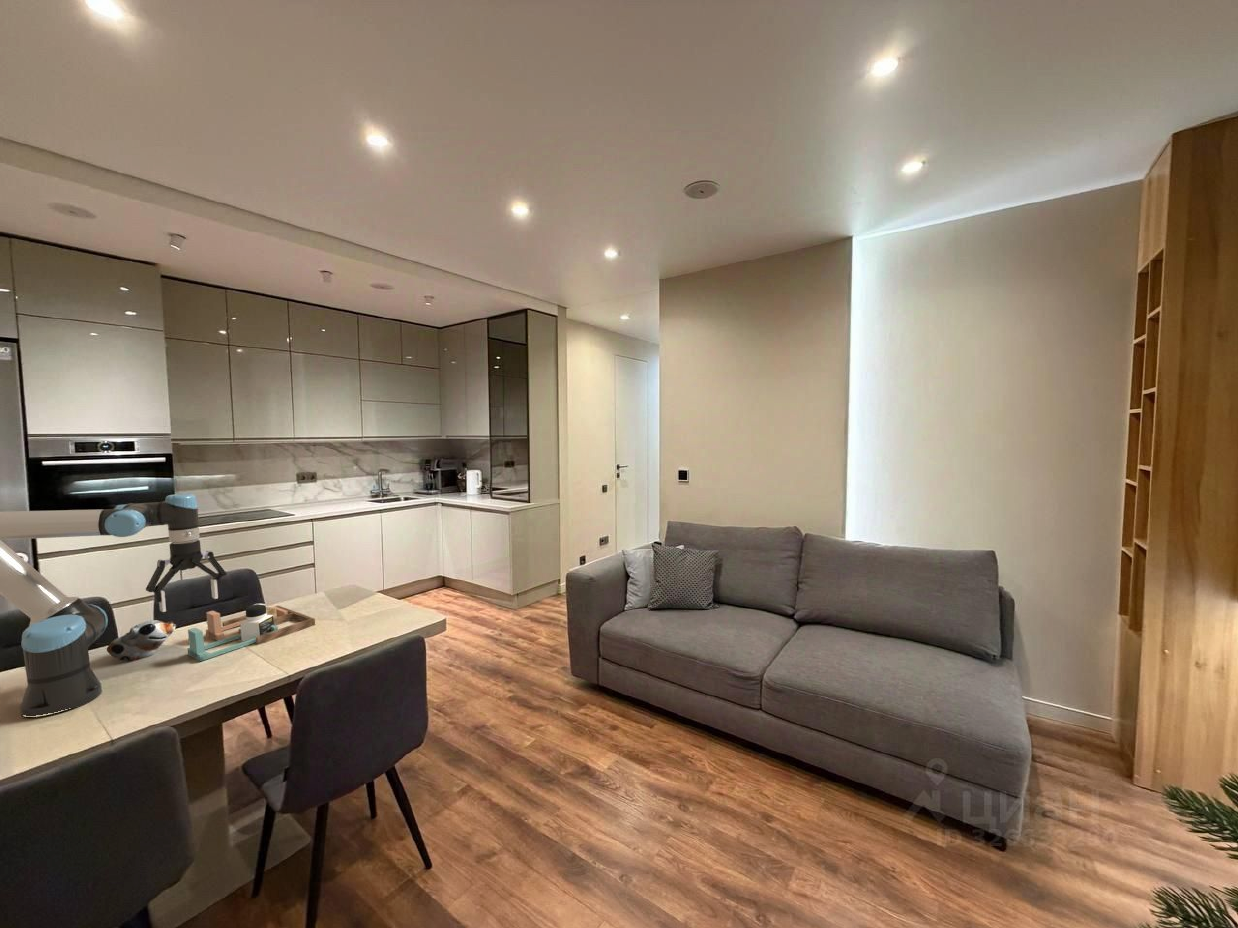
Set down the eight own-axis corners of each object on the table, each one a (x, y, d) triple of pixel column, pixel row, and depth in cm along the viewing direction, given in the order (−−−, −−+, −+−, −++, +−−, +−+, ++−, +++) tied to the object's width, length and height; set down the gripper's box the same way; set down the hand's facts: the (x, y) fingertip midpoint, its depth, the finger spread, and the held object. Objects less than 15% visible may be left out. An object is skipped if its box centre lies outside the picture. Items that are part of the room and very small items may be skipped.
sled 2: (200, 661, 160) (197, 634, 160) (187, 654, 166) (185, 628, 165) (278, 634, 180) (276, 610, 179) (264, 628, 185) (262, 605, 185)
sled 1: (218, 640, 176) (215, 616, 175) (206, 634, 181) (203, 611, 180) (288, 618, 195) (286, 596, 194) (275, 613, 200) (273, 592, 200)
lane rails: (258, 644, 173) (257, 637, 172) (222, 628, 187) (222, 622, 187) (315, 624, 189) (314, 618, 189) (278, 611, 204) (278, 605, 203)
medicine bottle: (260, 641, 175) (257, 609, 174) (241, 641, 176) (238, 609, 175) (275, 632, 183) (272, 601, 182) (256, 633, 183) (253, 601, 182)
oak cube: (264, 625, 190) (263, 612, 190) (255, 623, 192) (254, 610, 191) (277, 620, 195) (276, 607, 194) (268, 618, 196) (267, 606, 196)
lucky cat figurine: (151, 642, 176) (170, 607, 177) (168, 660, 172) (188, 625, 172) (97, 648, 162) (118, 610, 163) (114, 668, 158) (136, 629, 158)
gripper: (137, 551, 148) (143, 619, 149) (235, 534, 169) (239, 594, 171) (128, 548, 151) (134, 614, 153) (225, 532, 173) (229, 591, 174)
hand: (189, 604), depth 162 cm, fingers open, 13 cm apart
